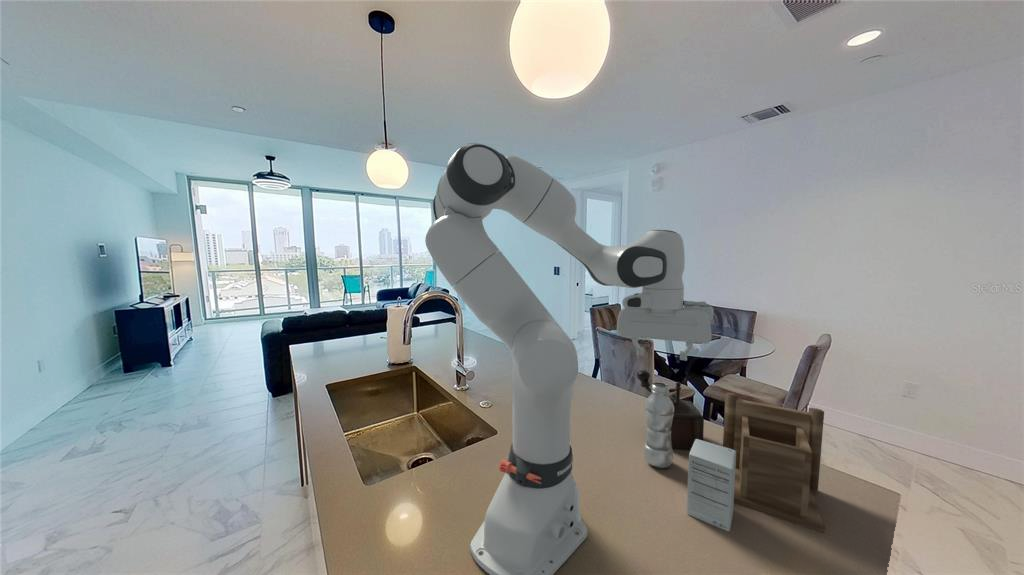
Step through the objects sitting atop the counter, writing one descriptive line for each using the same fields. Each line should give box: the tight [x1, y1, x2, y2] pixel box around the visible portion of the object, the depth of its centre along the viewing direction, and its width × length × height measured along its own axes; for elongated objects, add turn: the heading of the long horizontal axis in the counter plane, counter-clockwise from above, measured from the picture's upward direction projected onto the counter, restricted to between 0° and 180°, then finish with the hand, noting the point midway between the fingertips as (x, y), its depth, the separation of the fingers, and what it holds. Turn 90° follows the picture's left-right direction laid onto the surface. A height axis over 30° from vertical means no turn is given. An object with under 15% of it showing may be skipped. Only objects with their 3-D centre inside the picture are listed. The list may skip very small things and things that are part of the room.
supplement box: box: [686, 439, 736, 533], centre depth 65 cm, size 7×7×13 cm
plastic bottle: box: [643, 381, 674, 469], centre depth 80 cm, size 6×7×20 cm
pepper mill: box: [636, 369, 705, 451], centre depth 92 cm, size 16×11×18 cm
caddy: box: [722, 392, 826, 533], centre depth 70 cm, size 14×17×18 cm
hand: (661, 357), depth 78 cm, fingers open, 8 cm apart
